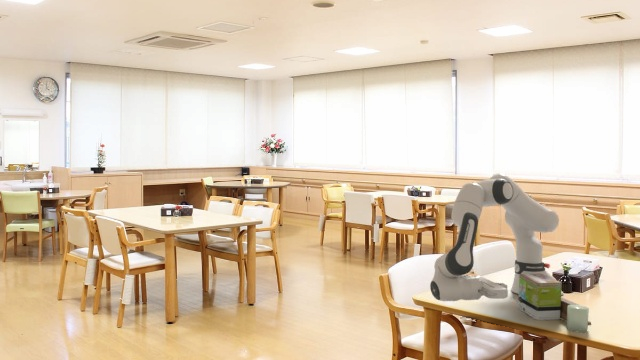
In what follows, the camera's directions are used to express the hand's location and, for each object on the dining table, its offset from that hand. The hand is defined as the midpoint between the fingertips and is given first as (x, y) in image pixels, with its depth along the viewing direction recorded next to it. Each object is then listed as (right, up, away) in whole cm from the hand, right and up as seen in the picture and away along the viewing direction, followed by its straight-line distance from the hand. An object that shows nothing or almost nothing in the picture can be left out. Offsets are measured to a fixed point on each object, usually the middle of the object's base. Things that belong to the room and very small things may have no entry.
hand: (505, 286), depth 225 cm
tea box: (+14, -12, +4) cm, 19 cm away
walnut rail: (+23, -12, +3) cm, 26 cm away
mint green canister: (+22, -13, -14) cm, 29 cm away
